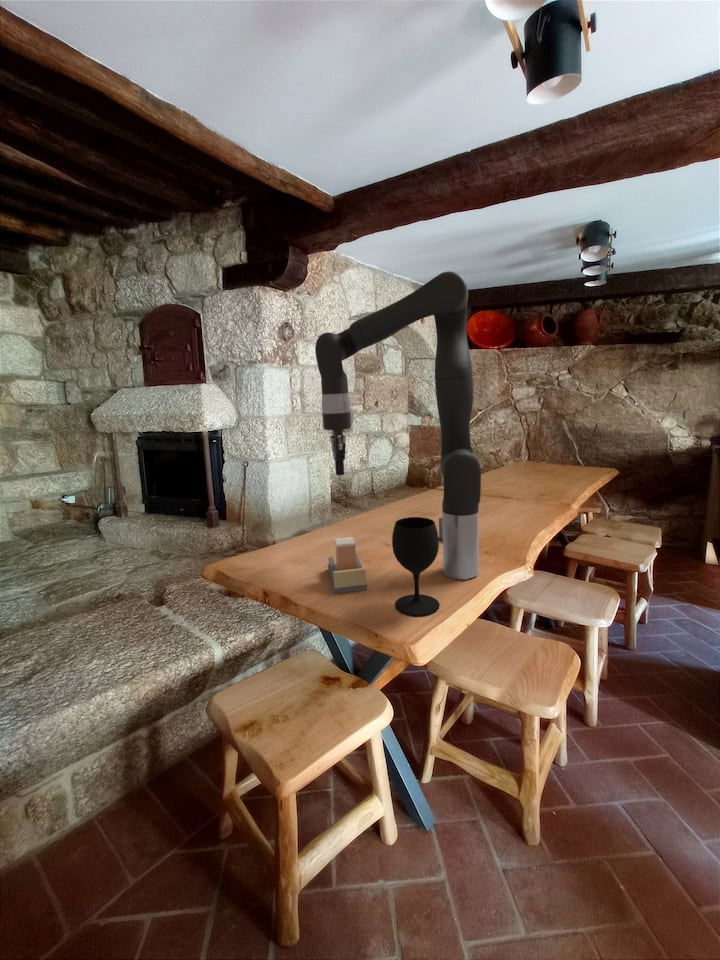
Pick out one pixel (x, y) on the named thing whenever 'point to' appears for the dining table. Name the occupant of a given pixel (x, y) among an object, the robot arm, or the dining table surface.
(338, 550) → the block
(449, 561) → the robot arm
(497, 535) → the dining table surface
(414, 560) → the wine glass
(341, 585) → the key track
